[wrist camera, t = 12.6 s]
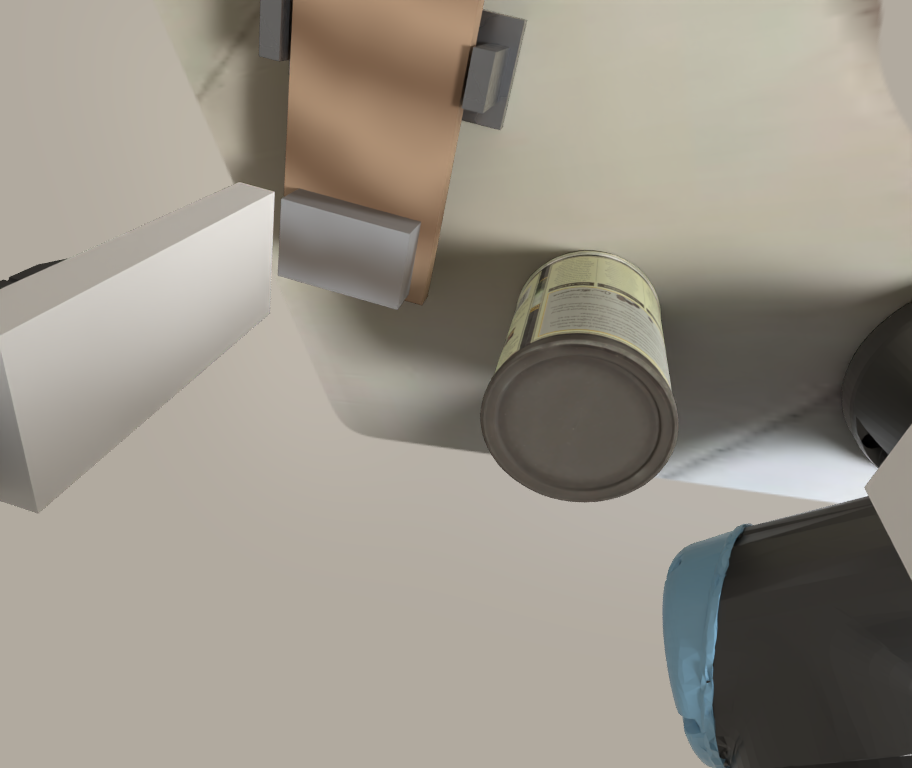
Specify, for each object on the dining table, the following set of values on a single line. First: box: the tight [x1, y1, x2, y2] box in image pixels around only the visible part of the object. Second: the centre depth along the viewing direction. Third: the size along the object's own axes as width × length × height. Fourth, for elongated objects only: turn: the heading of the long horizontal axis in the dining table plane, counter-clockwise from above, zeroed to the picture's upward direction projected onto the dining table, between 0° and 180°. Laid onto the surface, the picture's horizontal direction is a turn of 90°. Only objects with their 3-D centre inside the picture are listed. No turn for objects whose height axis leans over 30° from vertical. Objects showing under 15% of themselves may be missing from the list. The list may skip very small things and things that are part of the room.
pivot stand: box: [259, 0, 527, 130], centre depth 36 cm, size 6×14×6 cm, turn 79°
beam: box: [278, 0, 484, 310], centre depth 34 cm, size 28×10×4 cm, turn 168°
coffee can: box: [480, 251, 679, 502], centre depth 39 cm, size 10×10×14 cm
